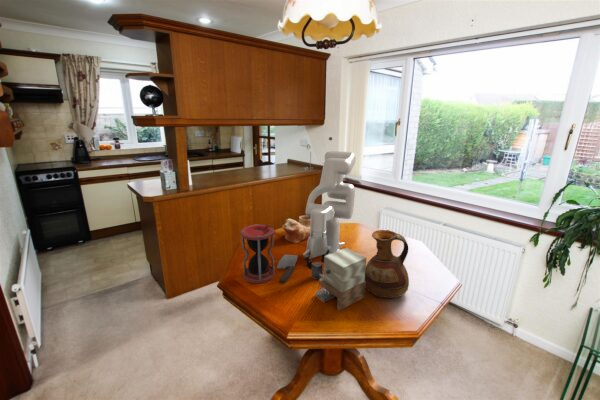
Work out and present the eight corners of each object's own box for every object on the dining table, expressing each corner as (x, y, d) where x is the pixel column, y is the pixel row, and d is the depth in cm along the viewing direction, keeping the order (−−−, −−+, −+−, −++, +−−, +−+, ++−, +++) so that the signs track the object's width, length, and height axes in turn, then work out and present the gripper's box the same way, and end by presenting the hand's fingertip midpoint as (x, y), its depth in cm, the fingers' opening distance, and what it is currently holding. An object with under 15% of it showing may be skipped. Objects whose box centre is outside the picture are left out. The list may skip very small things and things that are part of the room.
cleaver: (289, 284, 142) (289, 280, 141) (270, 282, 143) (270, 279, 142) (298, 256, 170) (298, 253, 169) (282, 255, 171) (282, 252, 170)
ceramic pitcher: (360, 278, 147) (364, 223, 138) (400, 279, 147) (407, 224, 138) (367, 302, 129) (373, 241, 120) (413, 303, 128) (422, 242, 119)
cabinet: (343, 282, 143) (345, 246, 137) (364, 297, 132) (368, 258, 126) (318, 294, 134) (319, 255, 128) (339, 310, 123) (341, 269, 117)
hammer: (317, 273, 151) (317, 261, 149) (347, 295, 134) (348, 282, 132) (311, 276, 149) (311, 264, 147) (341, 298, 132) (342, 284, 130)
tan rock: (277, 239, 190) (276, 218, 186) (305, 229, 207) (306, 209, 203) (290, 246, 181) (290, 224, 176) (319, 235, 198) (320, 214, 193)
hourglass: (276, 281, 144) (275, 235, 136) (243, 285, 141) (241, 238, 133) (272, 265, 159) (271, 222, 151) (242, 268, 156) (240, 225, 148)
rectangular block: (325, 291, 137) (325, 287, 136) (334, 298, 132) (334, 293, 131) (315, 296, 133) (315, 291, 133) (324, 303, 129) (324, 298, 128)
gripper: (326, 227, 149) (324, 258, 153) (299, 235, 139) (298, 267, 143) (336, 232, 143) (334, 263, 148) (308, 240, 133) (307, 273, 138)
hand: (316, 265), depth 145 cm, fingers open, 9 cm apart
